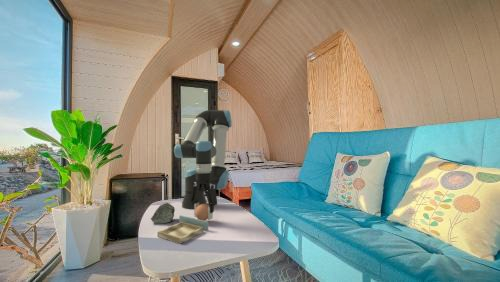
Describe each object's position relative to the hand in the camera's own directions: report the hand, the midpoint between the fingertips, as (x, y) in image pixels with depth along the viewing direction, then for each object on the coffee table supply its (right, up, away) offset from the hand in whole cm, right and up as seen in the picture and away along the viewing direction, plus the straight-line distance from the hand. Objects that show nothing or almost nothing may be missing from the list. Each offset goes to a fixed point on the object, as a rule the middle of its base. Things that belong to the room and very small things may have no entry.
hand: (203, 217), depth 109 cm
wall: (-3, -2, -7) cm, 8 cm away
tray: (-7, -2, -15) cm, 16 cm away
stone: (-20, -2, +1) cm, 20 cm away
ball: (0, -1, 0) cm, 1 cm away
